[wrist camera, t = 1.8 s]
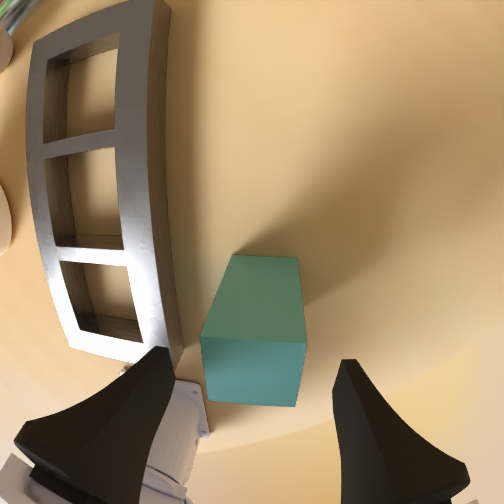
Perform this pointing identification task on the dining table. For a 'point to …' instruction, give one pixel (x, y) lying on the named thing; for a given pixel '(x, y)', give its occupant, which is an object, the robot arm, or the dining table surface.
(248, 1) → the dining table surface
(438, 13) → the dining table surface
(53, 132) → the rail
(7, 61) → the grey lumpy piece
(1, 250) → the beverage can
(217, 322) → the square peg
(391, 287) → the dining table surface
